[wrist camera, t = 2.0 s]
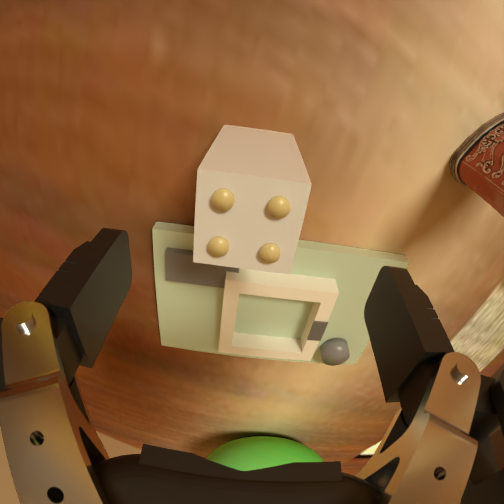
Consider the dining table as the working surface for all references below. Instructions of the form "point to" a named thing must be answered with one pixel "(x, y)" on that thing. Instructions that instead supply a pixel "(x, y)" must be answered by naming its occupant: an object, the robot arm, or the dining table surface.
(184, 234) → the board
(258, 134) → the plug
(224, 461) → the toy bird
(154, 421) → the dining table surface
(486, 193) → the lighter
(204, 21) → the dining table surface
